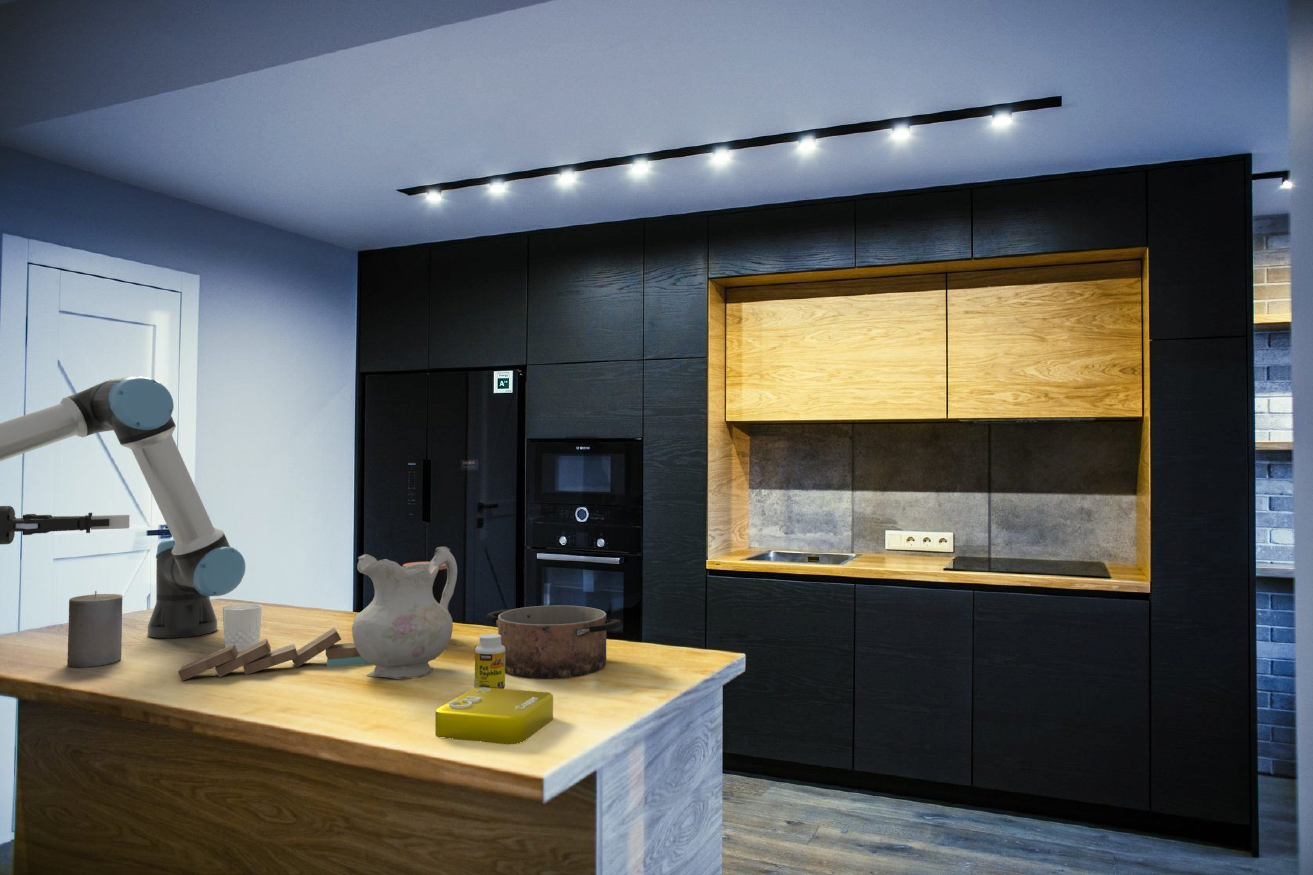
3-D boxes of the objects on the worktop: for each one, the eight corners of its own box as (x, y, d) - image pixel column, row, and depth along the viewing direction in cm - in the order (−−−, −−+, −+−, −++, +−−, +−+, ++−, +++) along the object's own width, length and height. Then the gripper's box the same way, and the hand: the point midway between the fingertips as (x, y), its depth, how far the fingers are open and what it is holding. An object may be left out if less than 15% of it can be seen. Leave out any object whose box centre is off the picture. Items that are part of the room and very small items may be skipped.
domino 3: (242, 660, 177) (294, 643, 181) (245, 669, 177) (296, 652, 181) (242, 665, 172) (295, 648, 176) (245, 674, 172) (298, 657, 176)
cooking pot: (641, 662, 183) (641, 611, 184) (588, 687, 163) (588, 630, 164) (522, 648, 196) (522, 601, 197) (460, 670, 176) (460, 617, 176)
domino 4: (290, 654, 182) (334, 627, 186) (295, 662, 182) (339, 634, 186) (291, 659, 178) (336, 631, 181) (296, 667, 178) (341, 639, 182)
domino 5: (325, 645, 184) (374, 640, 188) (325, 654, 184) (374, 649, 188) (328, 649, 179) (378, 645, 184) (328, 659, 179) (378, 654, 184)
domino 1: (182, 665, 172) (234, 643, 175) (186, 674, 172) (238, 652, 175) (177, 671, 167) (231, 649, 170) (181, 681, 167) (235, 658, 170)
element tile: (518, 747, 130) (519, 715, 130) (430, 738, 134) (430, 707, 134) (557, 718, 145) (557, 689, 145) (475, 711, 149) (475, 683, 149)
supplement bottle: (474, 696, 157) (475, 639, 157) (474, 688, 162) (474, 633, 162) (506, 694, 158) (506, 638, 158) (504, 686, 163) (504, 632, 164)
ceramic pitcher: (416, 660, 189) (410, 546, 191) (483, 664, 179) (476, 543, 181) (333, 683, 170) (327, 556, 172) (403, 688, 161) (396, 554, 162)
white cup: (268, 648, 196) (269, 603, 196) (248, 656, 188) (249, 610, 188) (235, 647, 197) (236, 603, 197) (214, 655, 189) (215, 609, 189)
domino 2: (216, 662, 174) (266, 638, 178) (221, 671, 175) (270, 646, 178) (214, 668, 170) (266, 643, 173) (219, 677, 170) (270, 652, 174)
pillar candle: (57, 664, 181) (58, 592, 181) (105, 654, 190) (106, 586, 190) (84, 669, 176) (85, 595, 177) (132, 659, 185) (133, 589, 185)
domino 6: (329, 654, 184) (378, 651, 187) (329, 663, 184) (378, 660, 187) (326, 659, 179) (377, 656, 182) (326, 669, 179) (377, 666, 182)
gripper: (-5, 541, 174) (132, 537, 184) (-22, 548, 162) (125, 542, 173) (-4, 504, 174) (132, 501, 184) (-22, 507, 162) (125, 504, 173)
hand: (128, 521), depth 178 cm, fingers closed
